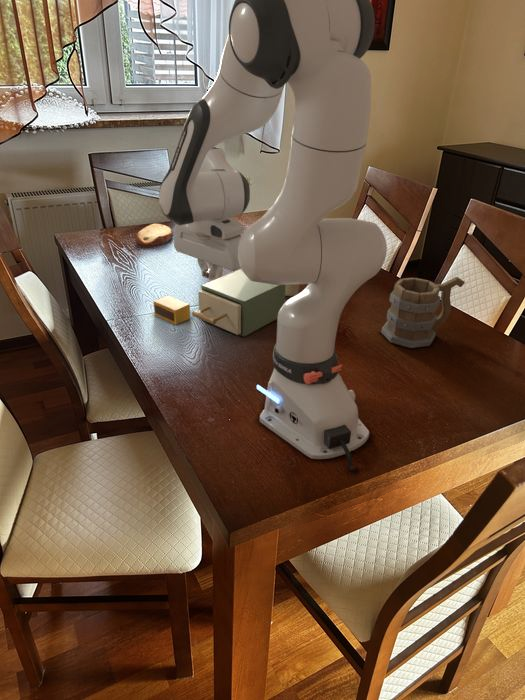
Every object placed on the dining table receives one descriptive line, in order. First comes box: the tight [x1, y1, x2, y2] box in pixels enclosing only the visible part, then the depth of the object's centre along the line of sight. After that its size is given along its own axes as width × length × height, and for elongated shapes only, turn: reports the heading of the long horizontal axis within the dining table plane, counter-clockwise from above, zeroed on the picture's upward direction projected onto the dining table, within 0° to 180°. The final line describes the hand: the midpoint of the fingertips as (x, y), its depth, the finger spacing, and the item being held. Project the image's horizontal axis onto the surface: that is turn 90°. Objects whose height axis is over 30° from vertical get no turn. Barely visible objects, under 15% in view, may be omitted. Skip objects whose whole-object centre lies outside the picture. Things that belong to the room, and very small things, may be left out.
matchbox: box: [152, 294, 191, 326], centre depth 140 cm, size 8×6×4 cm, turn 51°
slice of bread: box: [135, 223, 173, 248], centre depth 197 cm, size 18×18×4 cm
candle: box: [285, 284, 300, 297], centre depth 155 cm, size 6×6×10 cm
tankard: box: [380, 276, 466, 349], centre depth 133 cm, size 20×13×15 cm, turn 105°
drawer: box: [192, 289, 242, 336], centre depth 137 cm, size 21×14×8 cm, turn 141°
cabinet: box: [200, 268, 286, 337], centre depth 140 cm, size 17×15×10 cm
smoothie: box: [206, 262, 224, 283], centre depth 156 cm, size 6×6×14 cm
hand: (208, 277), depth 126 cm, fingers closed
